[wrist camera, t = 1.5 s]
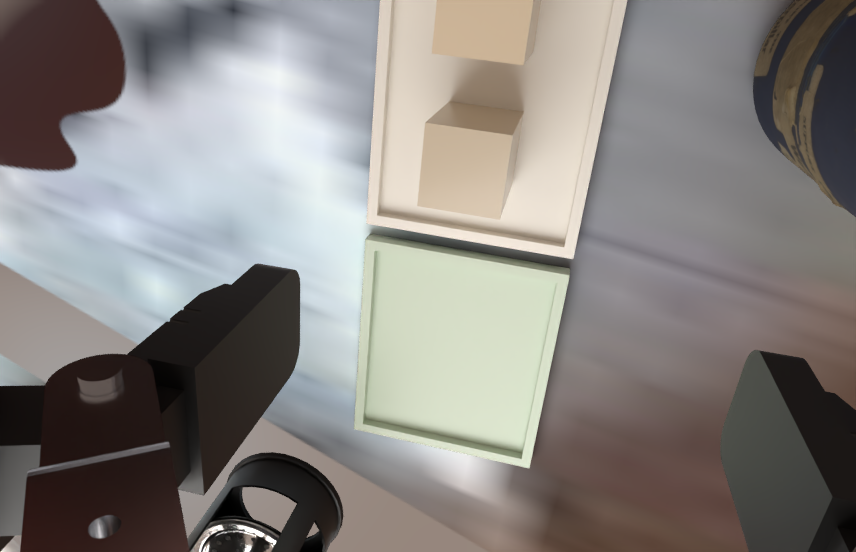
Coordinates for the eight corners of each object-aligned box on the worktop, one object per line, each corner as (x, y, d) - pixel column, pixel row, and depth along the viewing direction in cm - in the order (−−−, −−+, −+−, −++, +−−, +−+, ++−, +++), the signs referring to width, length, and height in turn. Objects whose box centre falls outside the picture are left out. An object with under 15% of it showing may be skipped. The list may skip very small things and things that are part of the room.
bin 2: (570, 268, 38) (569, 275, 37) (530, 458, 44) (529, 468, 43) (370, 233, 40) (365, 239, 39) (358, 420, 46) (353, 429, 45)
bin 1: (644, -86, 30) (646, -88, 29) (573, 252, 37) (573, 259, 37) (392, -109, 32) (387, -112, 31) (371, 218, 39) (366, 223, 38)
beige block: (523, 111, 35) (512, 135, 29) (512, 184, 36) (499, 219, 31) (449, 101, 35) (425, 122, 30) (441, 173, 37) (417, 206, 31)
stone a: (547, -36, 32) (539, -39, 26) (533, 51, 33) (523, 65, 28) (465, -44, 32) (441, -49, 27) (455, 42, 34) (431, 53, 28)
